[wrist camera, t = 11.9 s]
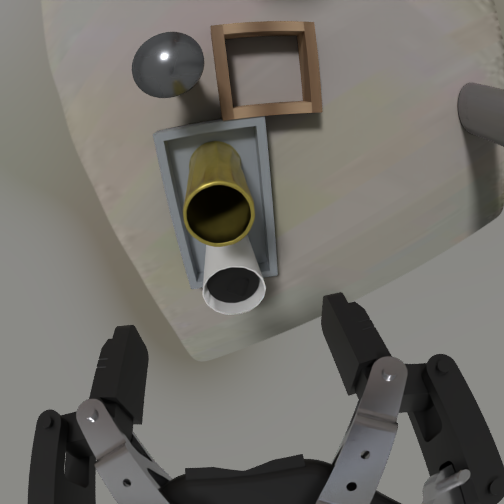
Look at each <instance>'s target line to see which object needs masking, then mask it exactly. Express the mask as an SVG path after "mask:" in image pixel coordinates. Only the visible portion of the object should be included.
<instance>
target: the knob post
mask: <svg viewBox="0 0 504 504" xmlns="http://www.w3.org/2000/svg"><path fill="white" fill-rule="evenodd" d="M203 69H204V56H203V52H202V49H201V48H200V46H199V44H198V43H197V42H196V41H195V40H194V39H193V38H191V37H190V36H188V35H186V34H183V33H179V32H166V33H161V34H158V35H156V36H153V37H152V38H150V39H148V40H147V41H146V42H145V43H144V44H142V46H141V47H140V48H139V49H138V51H137V52H136V54H135V56H134V59H133V63H132V74H133V78H134V81H135V83H136V84H137V86H138V87H139V88H140V89H141V90H142V91H143V92H145V93H146V94H148V95H150V96H153V97H157V98H170V97H175V96H179V95H181V94H183V93H185V92H187V91H189V90H190V89H191V88H192V87H193V86H194V85H195V84H196V83H197V82H198V80H199V79H200V77H201V75H202V73H203Z"/></svg>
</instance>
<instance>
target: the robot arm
mask: <svg viewBox="0 0 504 504" xmlns="http://www.w3.org/2000/svg"><path fill="white" fill-rule="evenodd" d="M458 112H459V117H460V120H461V123H462V125H463V127H464V128H465V130H467V131H468V132H469V133H471V134H474V135H476V136H479V137H481V138H484V139H486V140H489V141H491V142H494V143H496V144H498V145H501V146H503V147H504V89H499V88H495V87H491V86H486V85H481V84H476V83H468V84H466V85H465V86H464V87H463V88H462V90H461V92H460V95H459V99H458ZM321 325H322V330H323V334H324V336H325V339H326V341H327V344H328V346H329V348H330V351H331V353H332V356H333V358H334V361H335V363H336V366H337V368H338V371H339V373H340V376H341V378H342V381H343V383H344V386H345V388H346V391H347V393H348V395H352V394H355V393H356V394H357V396H358V399H359V401H358V403H357V406H356V408H355V411H354V414H353V416H352V419H351V421H350V424H349V426H348V429H347V431H346V434H345V436H344V438H343V440H342V443H341V445H340V446H339V449H338V451H337V453H336V455H335V457H334V459H333V461H332V463H331V464H329V463H327V462H324V461H319V460H314V459H304V458H303V454H300V455H296V456H291V457H286V458H281V459H275V460H272V461H269V462H267V463H264V464H262V465H259V466H257V467H255V468H251V469H249V470H246V471H238V470H229V469H221V468H215V467H207V468H185V474H183V475H181V476H178V477H176V478H174V479H172V478H171V477H170V476H169V475H168V474H167V473H166V472H165V471H164V470H163V469H162V468H161V467H160V466H159V465H158V464H157V463H156V462H155V460H154V459H153V458H152V457H151V456H150V454H149V453H148V451H147V450H146V449H145V447H144V446H143V445H142V443H141V442H140V441H139V439H138V438H137V436H136V435H135V433H134V432H133V424H142V416H143V405H144V395H145V385H146V377H147V368H148V351H147V348H146V346H145V344H144V342H143V341H142V339H141V337H140V335H139V333H138V331H137V330H136V328H135V326H134V325H127V326H117V327H116V328H115V331H114V335H113V339H108V340H107V342H106V343H105V344H104V346H103V347H102V349H101V353H100V357H99V360H98V364H97V369H96V372H95V376H94V380H93V385H92V389H91V393H90V397H89V399H88V400H86V401H84V402H83V403H82V404H81V405H80V406H79V407H78V409H77V411H76V412H73V413H69V414H65V415H60V414H58V413H57V412H56V411H54V410H46V411H44V412H43V413H42V414H41V415H40V416H39V418H38V420H37V425H36V431H35V436H34V442H33V448H32V456H31V464H30V474H29V487H28V504H96V502H95V470H97V471H98V473H99V475H100V477H101V478H102V480H103V481H104V483H105V485H106V486H107V488H108V489H109V491H110V492H111V494H112V496H113V497H114V498H115V500H116V501H117V503H118V504H401V503H399V502H397V501H395V500H393V499H391V498H389V497H387V496H386V495H384V494H382V493H380V492H378V491H376V489H377V486H378V484H379V481H380V479H381V476H382V474H383V471H384V469H385V466H386V463H387V460H388V457H389V455H390V451H391V449H392V445H393V442H394V439H395V436H396V433H397V429H398V423H397V422H396V421H397V416H398V413H402V412H407V413H408V415H409V418H410V420H411V423H412V426H413V428H414V431H415V434H416V436H417V439H418V442H419V445H420V448H421V450H422V453H423V456H424V459H425V462H426V465H427V468H428V471H429V474H430V477H429V479H428V480H427V481H426V482H425V484H424V487H423V502H422V504H497V503H498V502H499V501H501V499H502V498H503V497H504V466H503V463H502V460H501V458H500V455H499V452H498V450H497V447H496V445H495V442H494V440H493V437H492V435H491V433H490V430H489V428H488V426H487V424H486V422H485V419H484V417H483V415H482V413H481V411H480V409H479V407H478V404H477V402H476V400H475V398H474V396H473V394H472V392H471V390H470V389H469V387H468V385H467V383H466V381H465V379H464V377H463V376H462V374H461V372H460V370H459V368H458V366H457V365H456V363H455V361H454V360H453V359H452V358H451V357H449V356H447V355H444V354H437V355H434V356H432V357H431V358H430V359H429V361H428V362H427V363H424V364H404V363H403V362H402V361H401V360H400V359H398V358H395V357H392V356H391V354H390V353H389V351H388V349H387V348H386V345H385V344H384V342H383V340H382V338H381V337H380V335H379V333H378V332H377V330H376V328H375V327H374V325H373V323H372V321H371V320H370V318H369V316H368V314H367V313H366V311H365V309H364V308H362V307H361V306H360V305H358V304H357V303H356V302H351V303H348V302H347V300H346V298H345V296H344V295H343V293H341V292H340V293H335V294H330V295H325V296H324V297H323V306H322V319H321ZM65 452H66V461H65ZM96 460H97V461H96ZM64 464H65V474H64Z"/></svg>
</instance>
